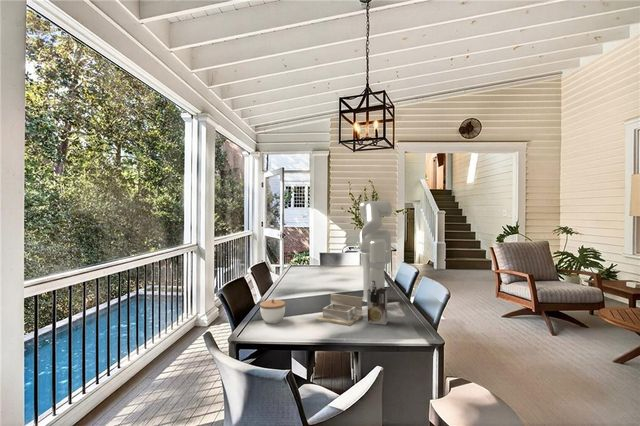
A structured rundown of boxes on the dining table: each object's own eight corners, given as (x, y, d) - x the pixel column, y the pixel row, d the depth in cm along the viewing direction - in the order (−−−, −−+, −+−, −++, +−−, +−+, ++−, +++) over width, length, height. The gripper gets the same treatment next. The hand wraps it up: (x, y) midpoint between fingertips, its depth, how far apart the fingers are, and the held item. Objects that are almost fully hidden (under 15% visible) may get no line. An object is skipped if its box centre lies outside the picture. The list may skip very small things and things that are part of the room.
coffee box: (387, 321, 179) (387, 288, 179) (385, 325, 173) (385, 291, 173) (369, 319, 182) (369, 287, 182) (367, 323, 176) (366, 290, 176)
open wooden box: (331, 311, 195) (331, 293, 195) (362, 316, 186) (362, 297, 186) (316, 320, 181) (316, 300, 181) (348, 325, 172) (348, 305, 172)
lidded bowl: (257, 319, 184) (257, 297, 184) (281, 316, 188) (281, 295, 188) (263, 326, 172) (263, 303, 172) (288, 323, 177) (288, 301, 176)
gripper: (376, 262, 186) (376, 295, 186) (363, 267, 171) (363, 303, 171) (390, 263, 182) (390, 297, 182) (378, 268, 167) (378, 305, 167)
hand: (377, 300), depth 177 cm, fingers open, 9 cm apart
